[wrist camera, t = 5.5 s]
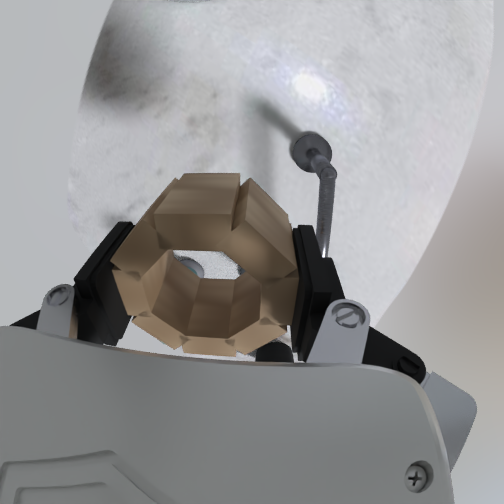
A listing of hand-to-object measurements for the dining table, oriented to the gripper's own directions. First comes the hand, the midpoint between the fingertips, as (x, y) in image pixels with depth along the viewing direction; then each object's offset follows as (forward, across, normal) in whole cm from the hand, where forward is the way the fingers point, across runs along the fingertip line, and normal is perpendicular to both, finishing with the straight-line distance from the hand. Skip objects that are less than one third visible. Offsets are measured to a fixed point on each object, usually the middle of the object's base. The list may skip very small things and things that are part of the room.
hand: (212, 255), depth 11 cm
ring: (+1, 0, 0) cm, 1 cm away
